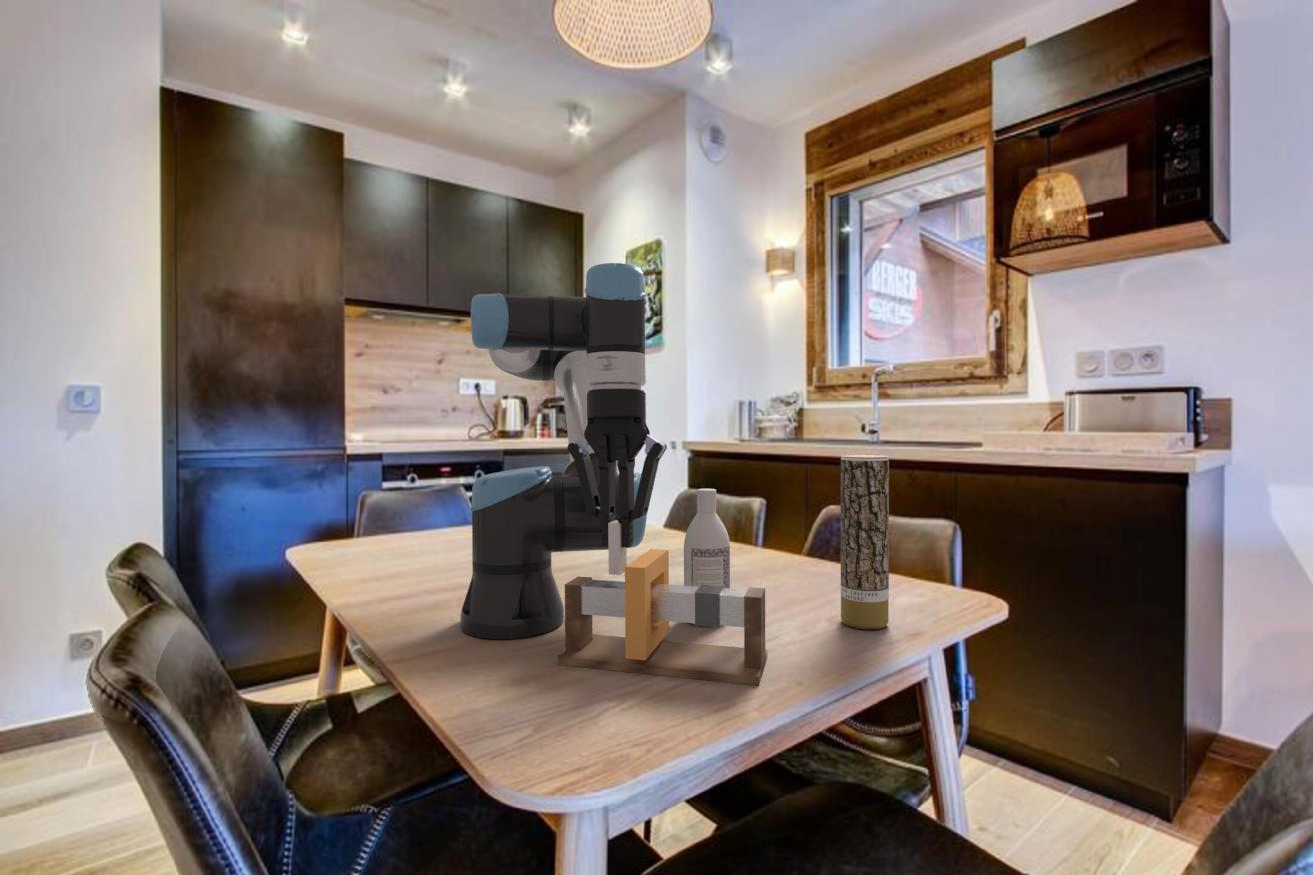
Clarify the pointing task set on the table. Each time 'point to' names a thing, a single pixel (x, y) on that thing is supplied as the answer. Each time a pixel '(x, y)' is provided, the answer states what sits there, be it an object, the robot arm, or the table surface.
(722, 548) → the bath foam
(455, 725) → the table surface
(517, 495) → the robot arm
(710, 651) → the brown stand
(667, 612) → the rail
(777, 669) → the table surface
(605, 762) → the table surface
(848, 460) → the paper tube
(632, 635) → the orange square ring
